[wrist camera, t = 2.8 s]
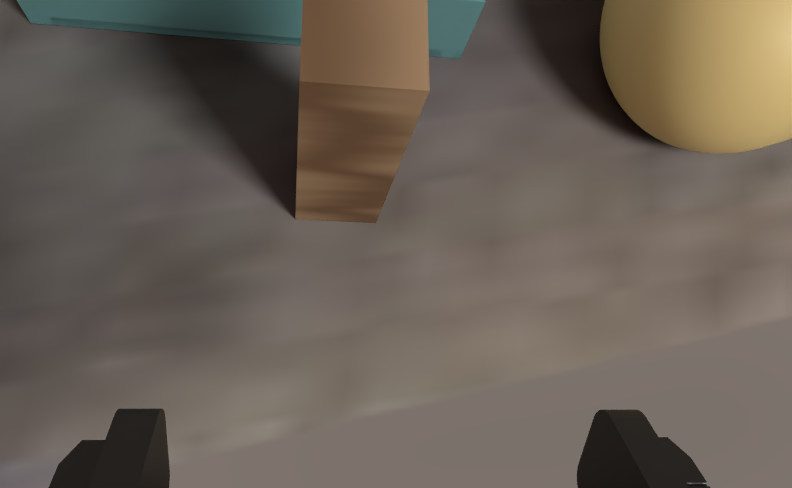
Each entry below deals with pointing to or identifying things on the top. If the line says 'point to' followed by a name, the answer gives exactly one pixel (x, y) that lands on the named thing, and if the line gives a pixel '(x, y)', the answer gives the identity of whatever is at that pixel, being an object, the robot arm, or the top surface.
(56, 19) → the socket box
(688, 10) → the sculpture
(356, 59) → the peg
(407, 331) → the top surface
